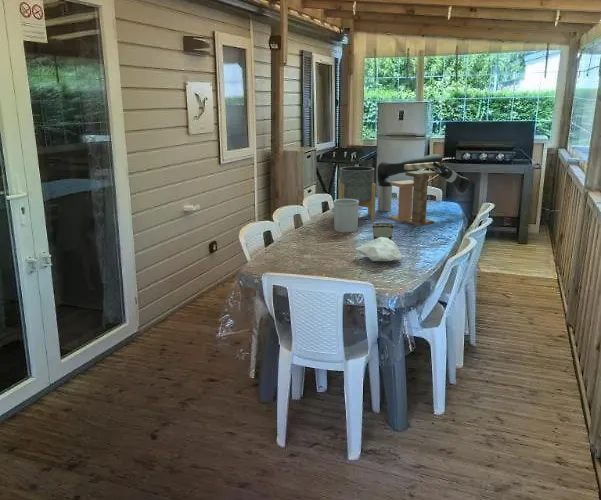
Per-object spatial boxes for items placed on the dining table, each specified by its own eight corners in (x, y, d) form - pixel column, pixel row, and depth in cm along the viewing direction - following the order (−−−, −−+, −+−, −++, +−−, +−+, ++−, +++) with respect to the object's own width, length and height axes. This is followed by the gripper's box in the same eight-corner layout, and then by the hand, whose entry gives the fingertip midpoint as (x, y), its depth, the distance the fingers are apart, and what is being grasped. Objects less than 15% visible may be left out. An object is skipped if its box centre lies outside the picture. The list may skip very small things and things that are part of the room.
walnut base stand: (423, 220, 351) (426, 170, 343) (433, 223, 343) (436, 172, 334) (403, 223, 344) (405, 172, 336) (413, 226, 336) (416, 173, 327)
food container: (393, 240, 304) (393, 222, 302) (394, 243, 298) (394, 225, 296) (370, 239, 306) (371, 222, 303) (371, 242, 300) (371, 224, 297)
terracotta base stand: (408, 216, 364) (410, 180, 358) (420, 219, 354) (422, 182, 348) (388, 218, 357) (390, 181, 351) (400, 222, 347) (401, 184, 340)
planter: (375, 221, 351) (376, 170, 343) (340, 221, 352) (340, 171, 343) (371, 213, 373) (372, 166, 364) (338, 213, 373) (338, 166, 364)
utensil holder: (356, 233, 320) (357, 203, 316) (331, 232, 323) (331, 202, 319) (359, 227, 334) (360, 199, 330) (335, 226, 337) (335, 198, 332)
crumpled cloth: (347, 264, 257) (351, 245, 254) (360, 244, 290) (363, 228, 287) (397, 275, 252) (401, 256, 249) (404, 254, 285) (407, 237, 282)
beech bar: (436, 166, 359) (436, 161, 358) (439, 167, 356) (439, 162, 355) (404, 169, 347) (404, 164, 347) (407, 170, 344) (407, 165, 344)
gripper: (453, 181, 357) (436, 169, 348) (438, 178, 369) (421, 166, 360) (458, 170, 357) (441, 158, 348) (443, 168, 369) (426, 156, 360)
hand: (431, 162), depth 354 cm, fingers closed on beech bar, 3 cm apart
